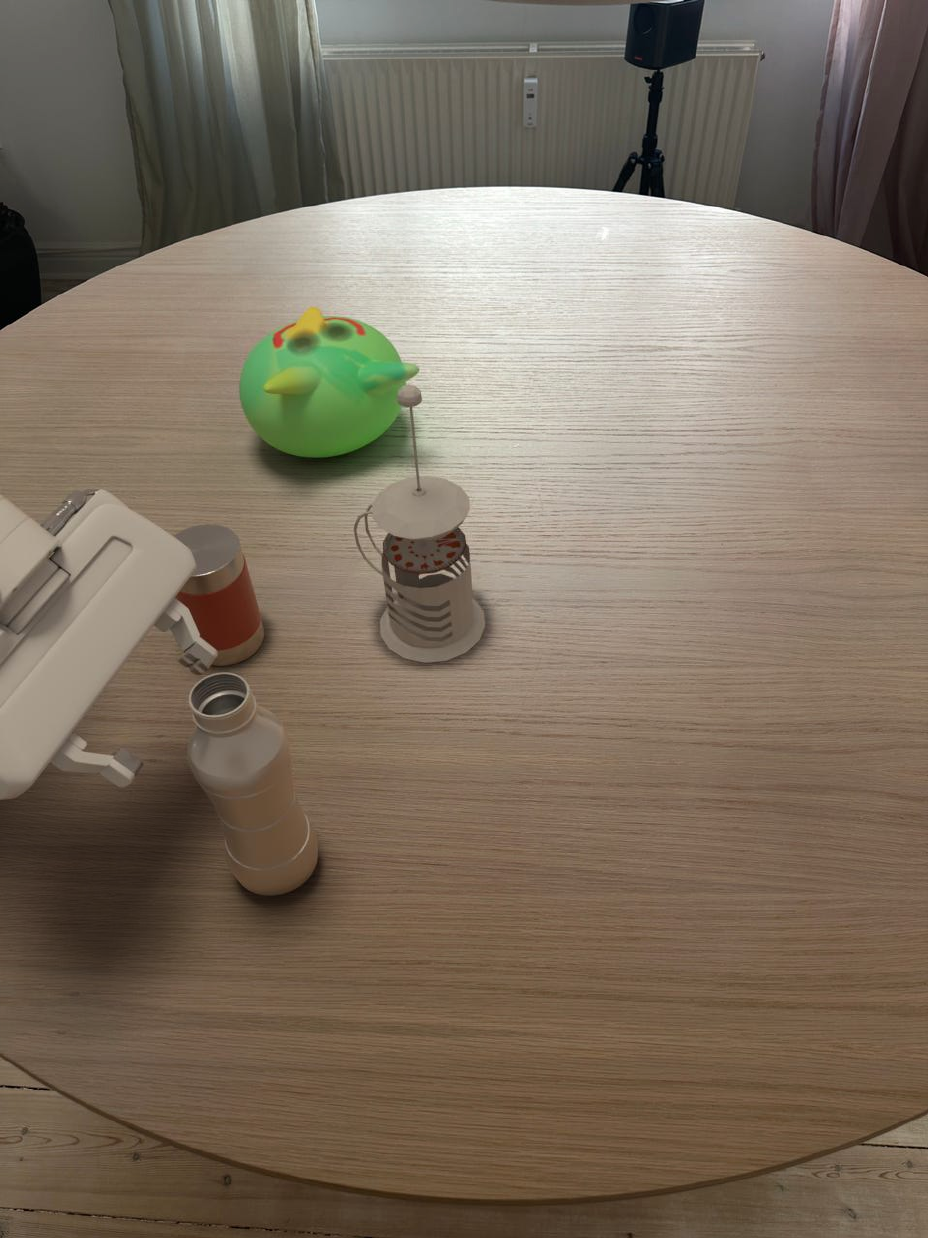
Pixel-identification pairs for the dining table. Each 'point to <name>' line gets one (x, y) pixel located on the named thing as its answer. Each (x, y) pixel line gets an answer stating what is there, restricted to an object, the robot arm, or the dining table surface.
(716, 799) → the dining table surface
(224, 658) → the food can
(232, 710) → the plastic bottle
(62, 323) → the dining table surface
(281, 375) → the toy bird
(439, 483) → the french press
